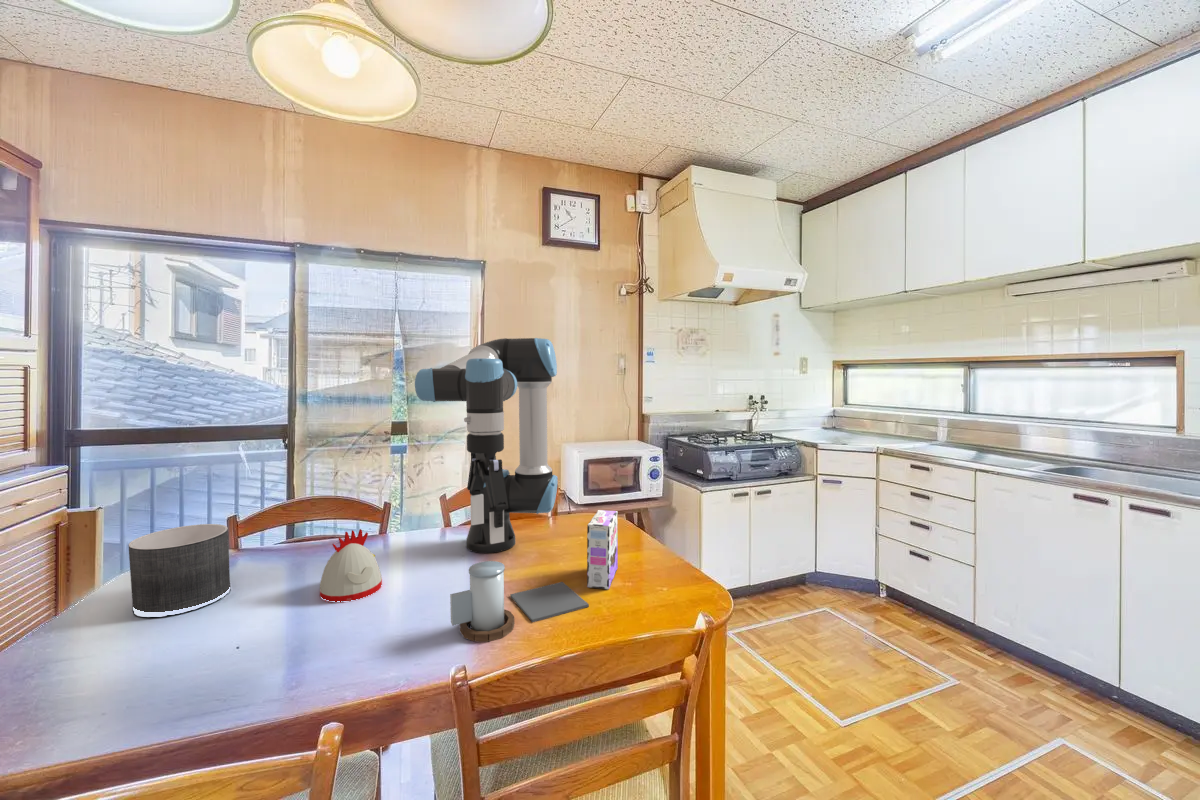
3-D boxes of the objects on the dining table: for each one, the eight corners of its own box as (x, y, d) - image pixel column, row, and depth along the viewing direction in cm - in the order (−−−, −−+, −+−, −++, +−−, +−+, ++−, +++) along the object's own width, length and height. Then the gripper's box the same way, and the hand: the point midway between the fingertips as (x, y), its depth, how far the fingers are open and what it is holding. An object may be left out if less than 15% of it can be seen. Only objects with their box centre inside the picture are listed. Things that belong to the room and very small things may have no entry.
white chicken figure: (391, 589, 121) (389, 530, 121) (331, 608, 111) (329, 545, 111) (368, 573, 131) (367, 519, 130) (311, 590, 121) (309, 531, 120)
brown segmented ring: (455, 622, 105) (455, 615, 105) (503, 609, 111) (503, 603, 110) (468, 647, 96) (468, 640, 95) (521, 632, 101) (521, 625, 101)
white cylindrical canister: (498, 615, 108) (498, 558, 107) (510, 630, 102) (509, 570, 101) (447, 628, 102) (446, 569, 102) (456, 645, 96) (455, 582, 95)
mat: (510, 596, 117) (510, 594, 117) (562, 583, 124) (562, 581, 124) (532, 622, 105) (532, 619, 105) (588, 606, 112) (588, 604, 112)
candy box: (609, 590, 121) (609, 525, 120) (586, 588, 122) (586, 524, 121) (618, 568, 134) (618, 510, 133) (597, 566, 135) (597, 508, 134)
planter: (246, 591, 120) (243, 529, 119) (156, 626, 104) (152, 554, 103) (206, 579, 127) (203, 520, 126) (116, 609, 111) (112, 542, 110)
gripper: (452, 427, 110) (454, 519, 111) (485, 441, 88) (487, 555, 89) (485, 426, 113) (486, 515, 114) (524, 438, 92) (525, 547, 93)
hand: (486, 532), depth 102 cm, fingers open, 13 cm apart
